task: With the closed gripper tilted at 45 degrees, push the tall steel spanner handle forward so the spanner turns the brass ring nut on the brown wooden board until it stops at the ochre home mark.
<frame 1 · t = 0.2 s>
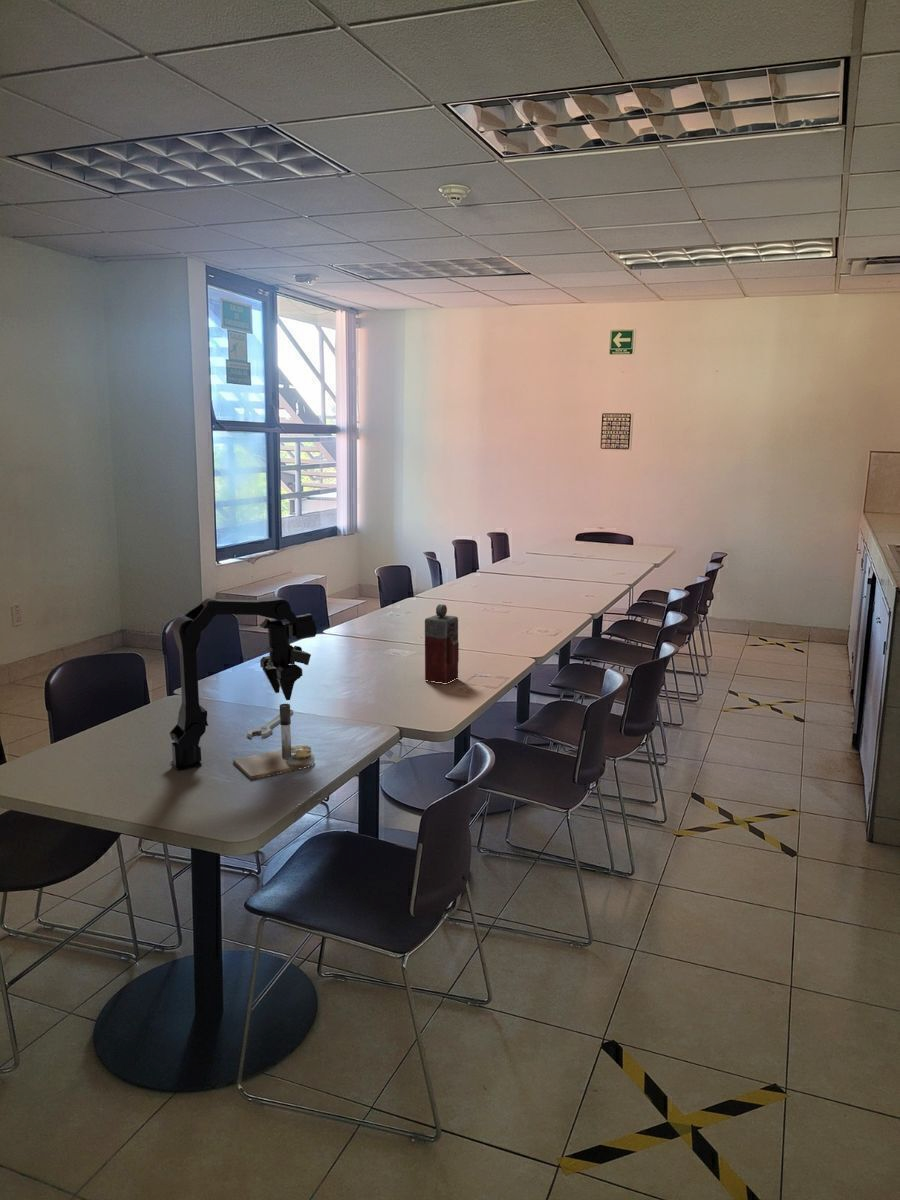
hand: (282, 696, 239), 15 cm above the table, tool pointing down, fingers open, 9 cm apart
adjustable wrench: (275, 727, 259), on the table
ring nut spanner: (294, 729, 224), point 10 cm above the table, hinge at 0.0°
brown wooden board: (300, 763, 228), on the table
knobbed red-grey post: (444, 681, 308), on the table
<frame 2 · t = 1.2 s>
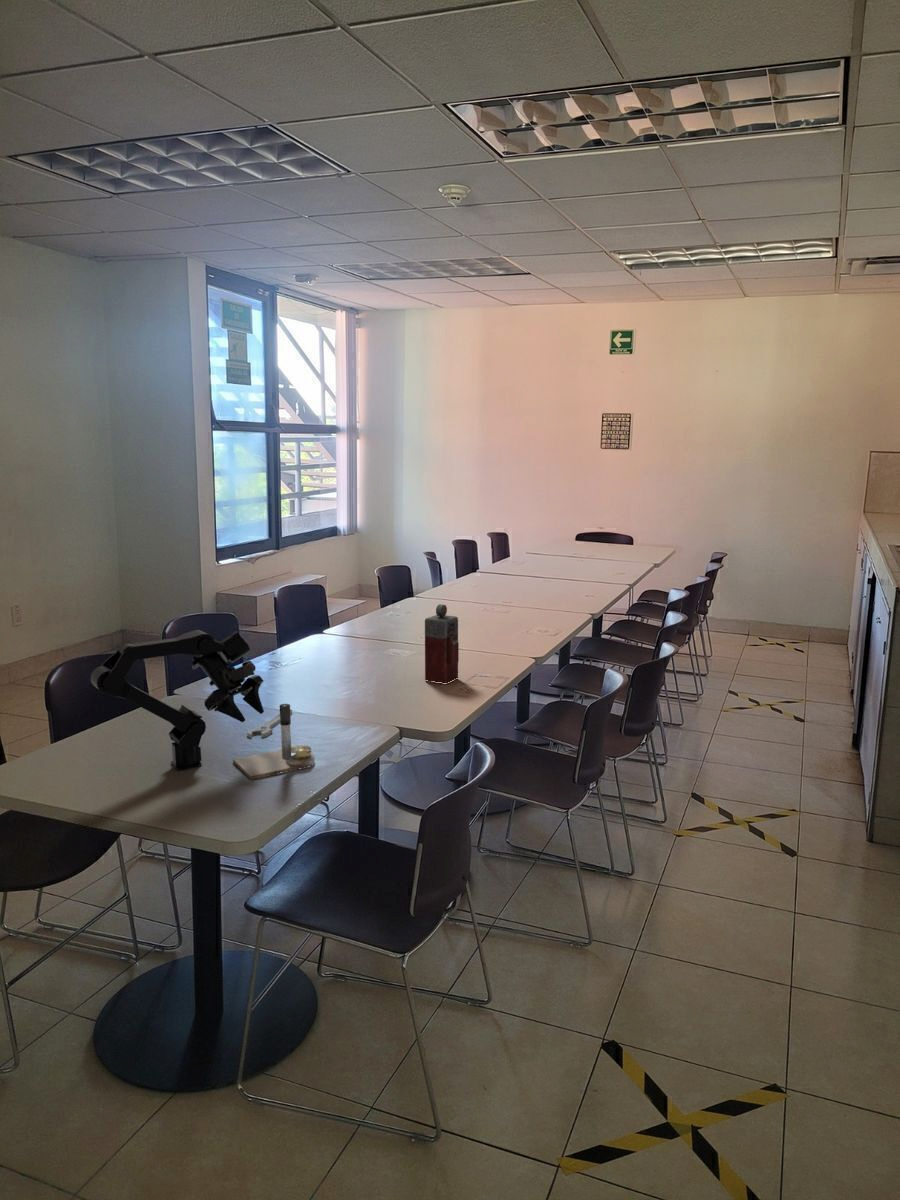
hand: (253, 716, 224), 13 cm above the table, tool tilted 45°, fingers open, 8 cm apart
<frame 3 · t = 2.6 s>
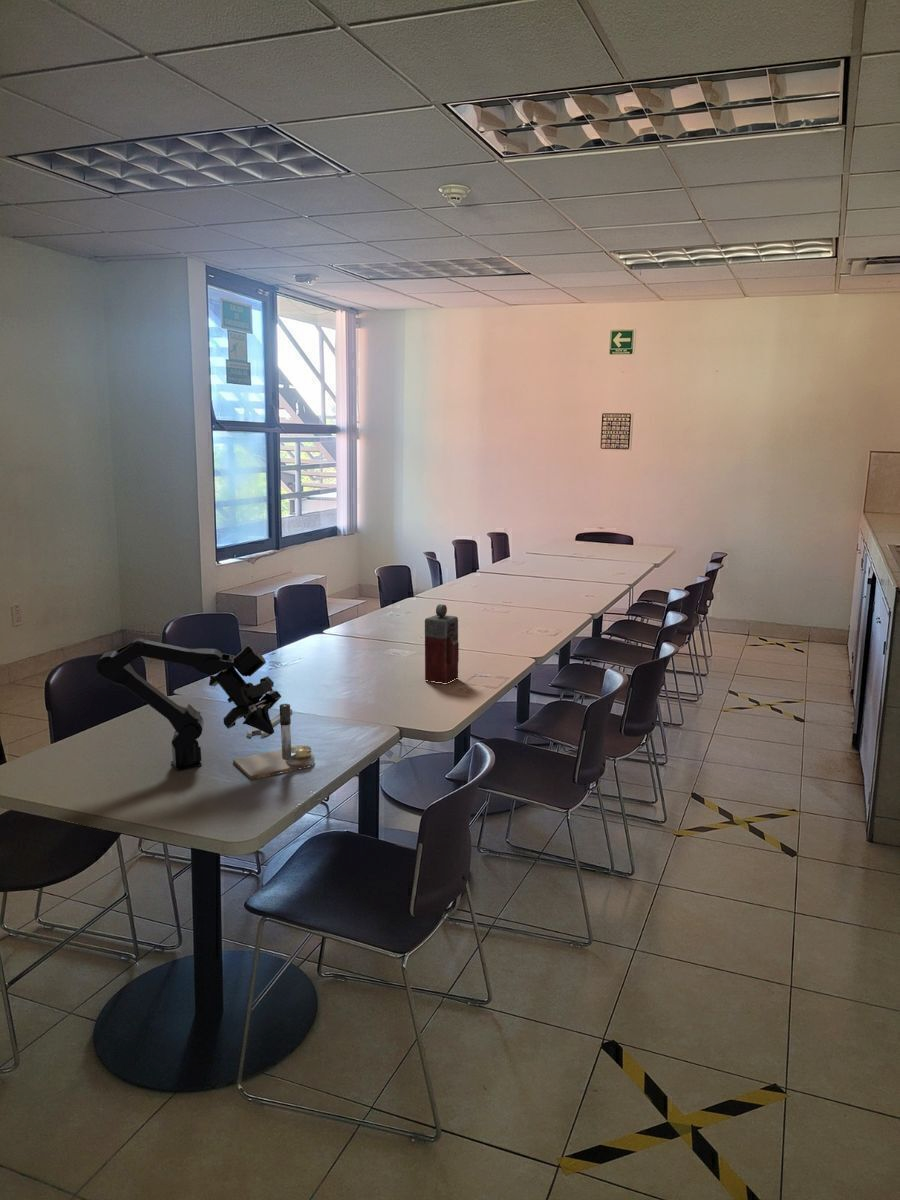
hand: (272, 733, 223), 10 cm above the table, tool tilted 45°, fingers closed
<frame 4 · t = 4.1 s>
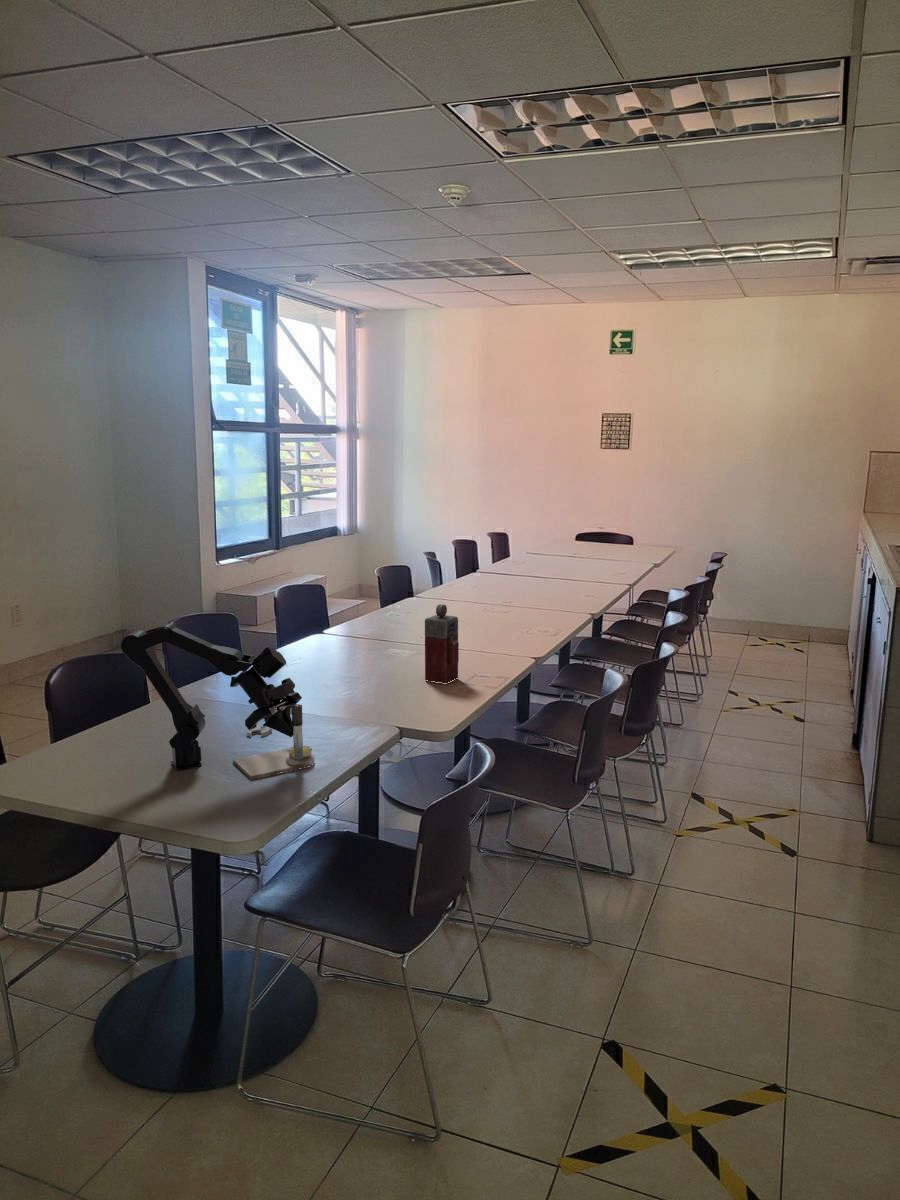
hand: (293, 735, 221), 10 cm above the table, tool tilted 45°, fingers closed, pressing on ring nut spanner
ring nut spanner: (298, 729, 224), point 10 cm above the table, hinge at 31.1°, touching gripper
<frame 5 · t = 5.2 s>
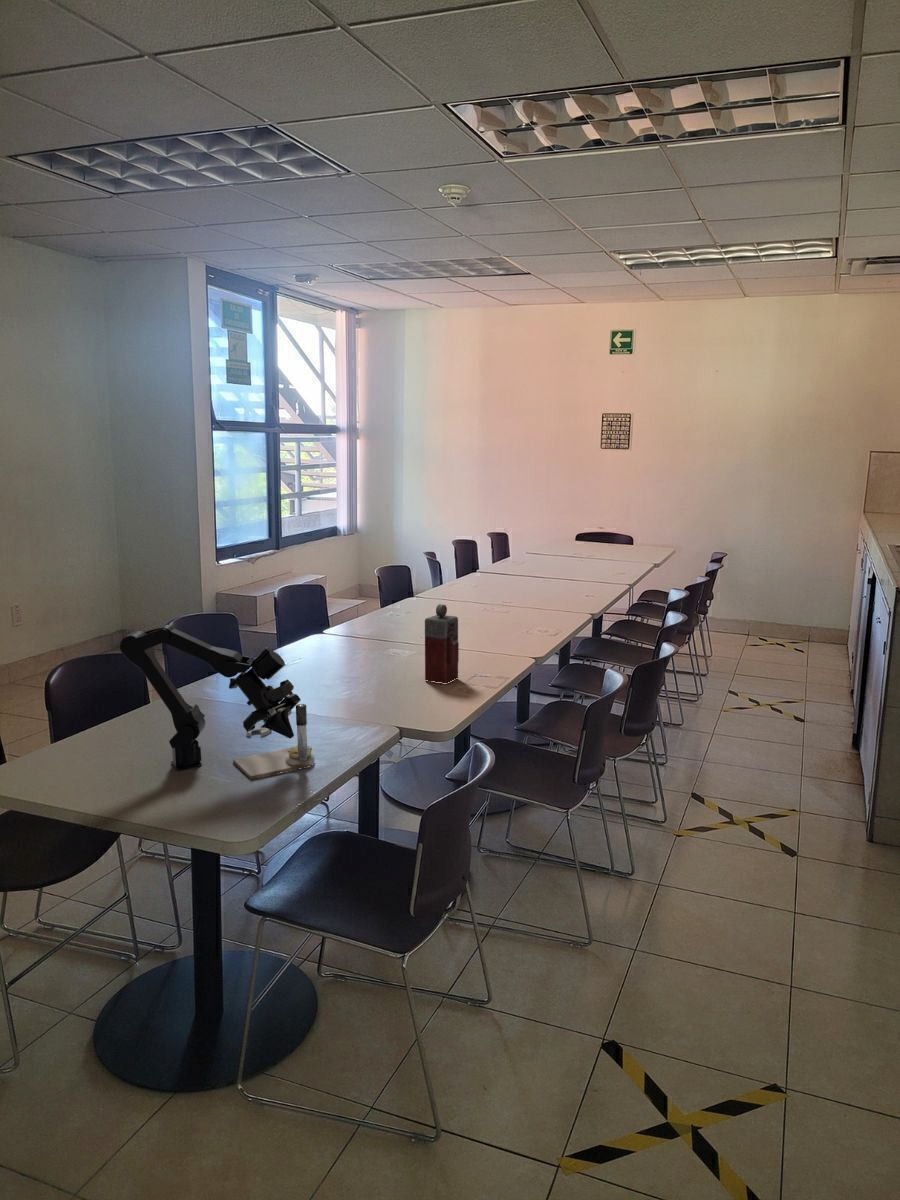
hand: (292, 737, 221), 9 cm above the table, tool tilted 45°, fingers closed
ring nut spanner: (300, 729, 224), point 10 cm above the table, hinge at 41.4°
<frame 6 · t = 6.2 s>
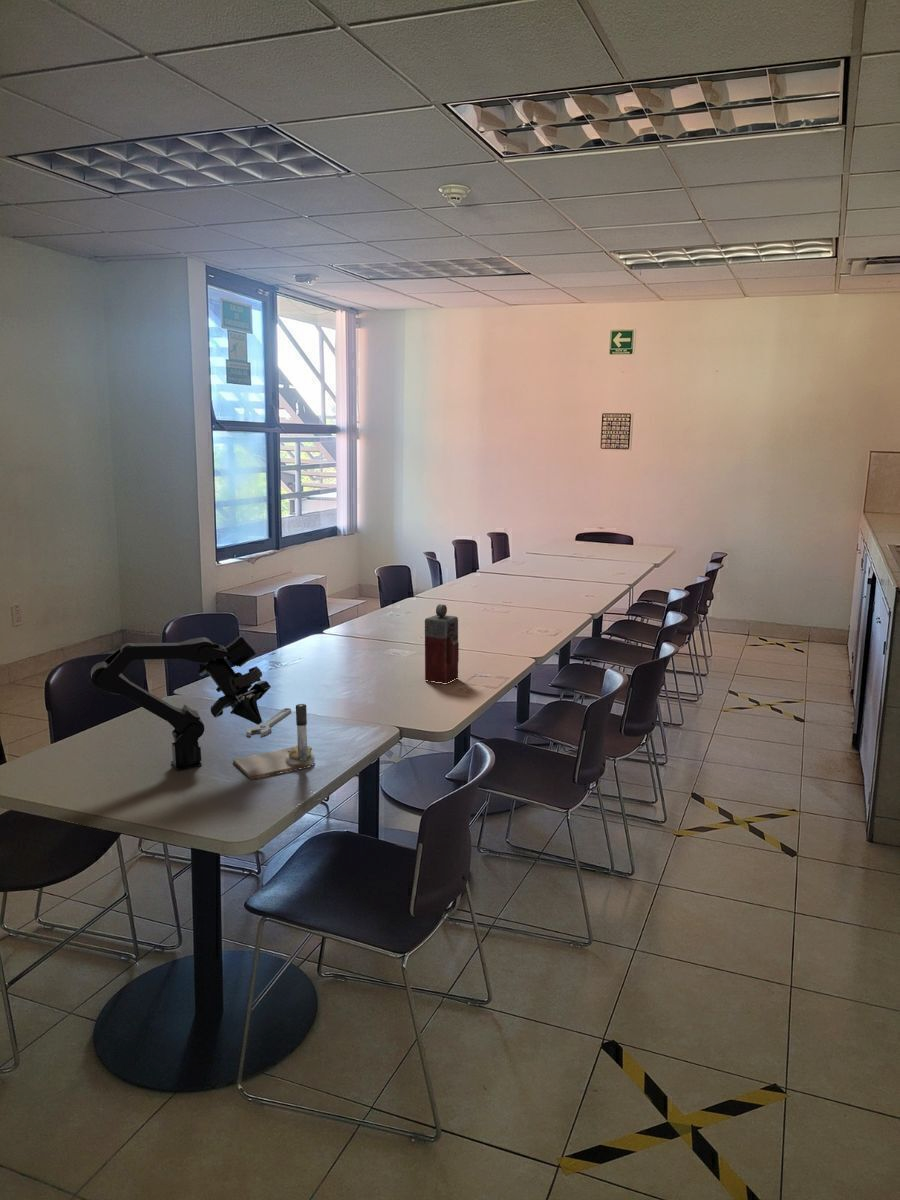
hand: (260, 723, 223), 12 cm above the table, tool tilted 45°, fingers closed
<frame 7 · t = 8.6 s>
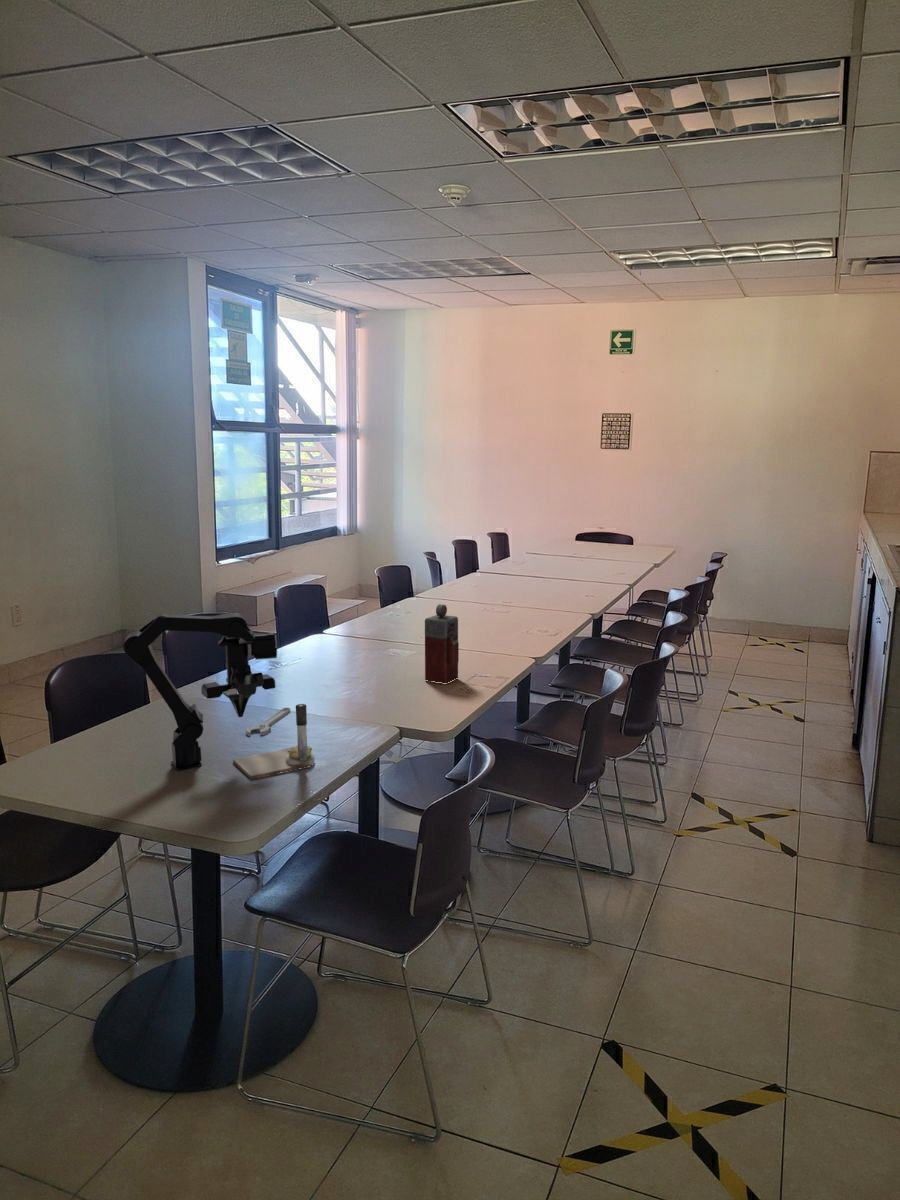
hand: (240, 716, 229), 12 cm above the table, tool pointing down, fingers closed
at the end: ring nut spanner at +41° (first picture: +0°) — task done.
